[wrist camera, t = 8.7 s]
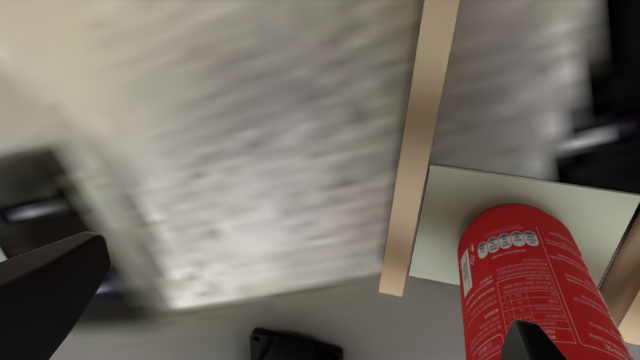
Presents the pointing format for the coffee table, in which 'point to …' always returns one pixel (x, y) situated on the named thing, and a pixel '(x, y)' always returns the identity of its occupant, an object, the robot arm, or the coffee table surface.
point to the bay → (493, 197)
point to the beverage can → (531, 286)
